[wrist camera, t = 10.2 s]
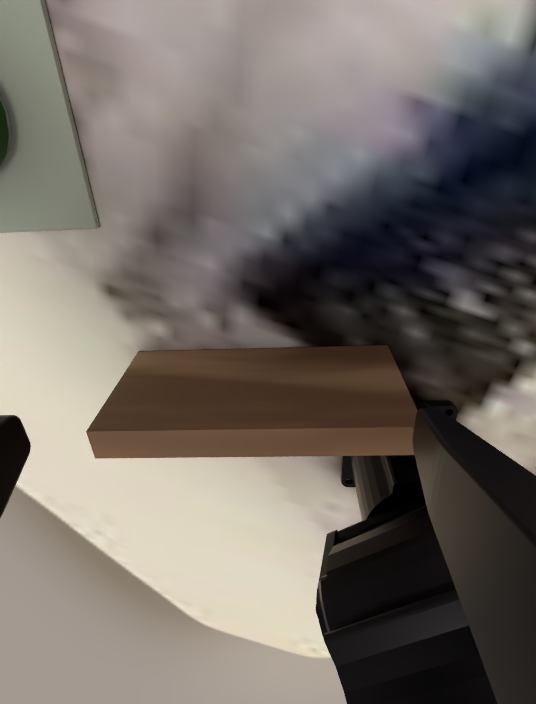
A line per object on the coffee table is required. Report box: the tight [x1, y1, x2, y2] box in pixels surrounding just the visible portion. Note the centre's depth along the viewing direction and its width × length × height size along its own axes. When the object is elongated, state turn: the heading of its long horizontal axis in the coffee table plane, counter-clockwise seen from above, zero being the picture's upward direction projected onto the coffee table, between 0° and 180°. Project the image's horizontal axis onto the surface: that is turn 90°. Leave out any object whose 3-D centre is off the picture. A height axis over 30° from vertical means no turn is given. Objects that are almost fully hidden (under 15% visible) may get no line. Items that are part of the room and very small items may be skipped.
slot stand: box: [86, 345, 418, 458], centre depth 14 cm, size 27×14×7 cm, turn 3°
